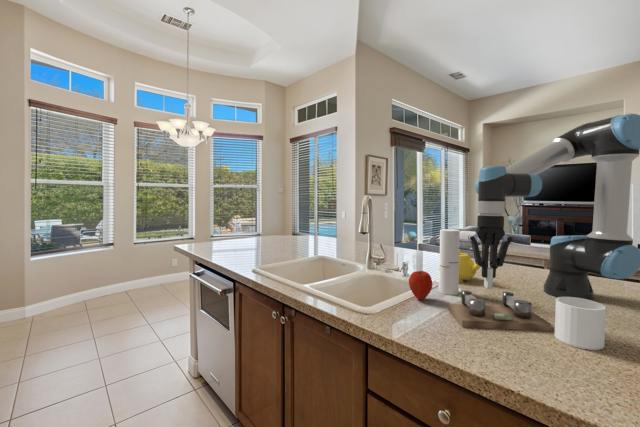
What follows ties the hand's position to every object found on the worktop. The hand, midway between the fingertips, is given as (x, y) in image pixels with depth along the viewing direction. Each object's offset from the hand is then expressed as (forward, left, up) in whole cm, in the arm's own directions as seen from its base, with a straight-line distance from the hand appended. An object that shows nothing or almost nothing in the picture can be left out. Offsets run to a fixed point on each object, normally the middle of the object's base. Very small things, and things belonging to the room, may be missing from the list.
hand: (488, 287), depth 99 cm
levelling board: (0, +4, -9) cm, 10 cm away
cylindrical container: (+6, -23, -9) cm, 25 cm away
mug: (-16, +16, -9) cm, 25 cm away
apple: (+19, -13, -9) cm, 24 cm away
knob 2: (-7, +2, -6) cm, 10 cm away
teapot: (-5, -42, -9) cm, 43 cm away
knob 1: (+6, +2, -6) cm, 9 cm away
